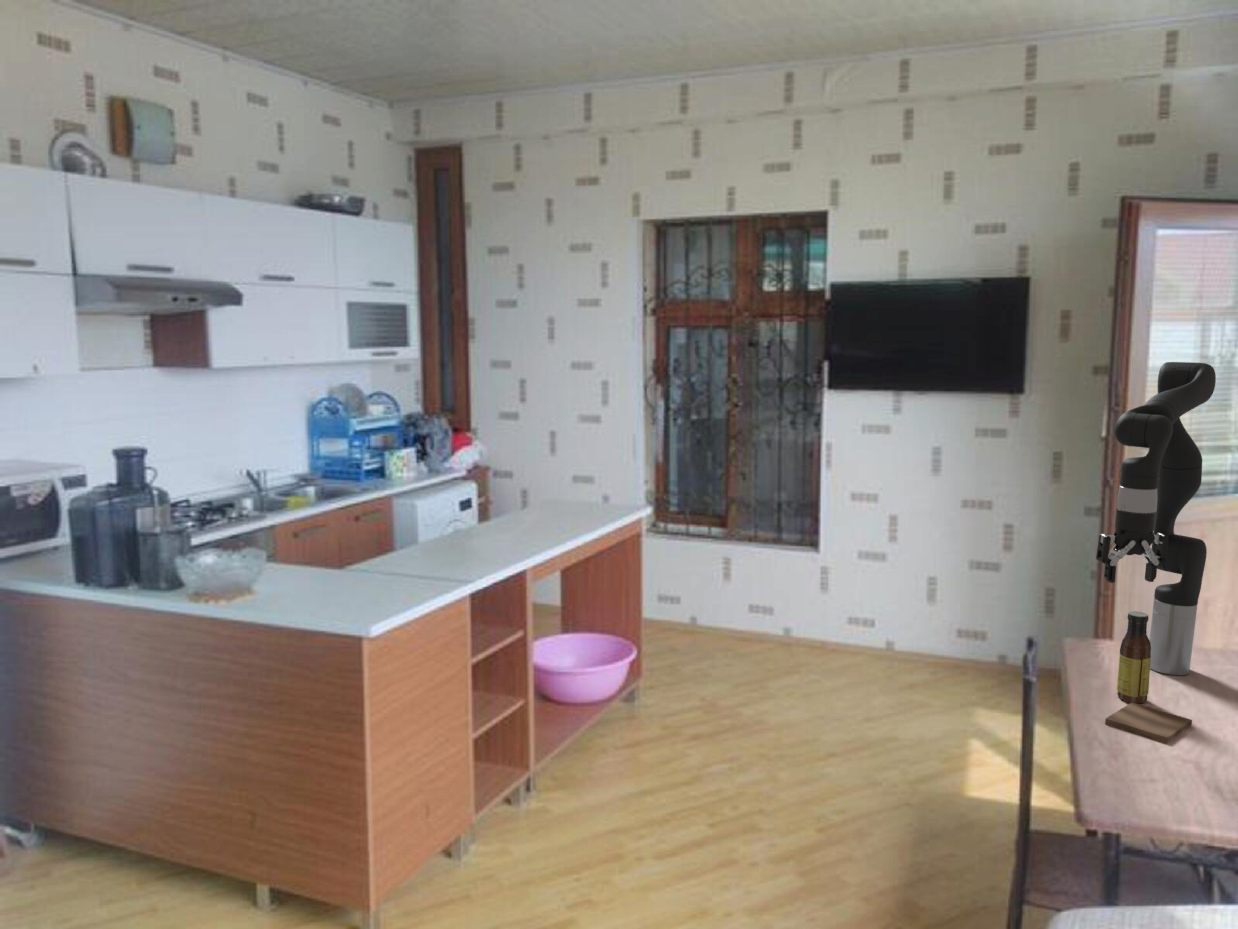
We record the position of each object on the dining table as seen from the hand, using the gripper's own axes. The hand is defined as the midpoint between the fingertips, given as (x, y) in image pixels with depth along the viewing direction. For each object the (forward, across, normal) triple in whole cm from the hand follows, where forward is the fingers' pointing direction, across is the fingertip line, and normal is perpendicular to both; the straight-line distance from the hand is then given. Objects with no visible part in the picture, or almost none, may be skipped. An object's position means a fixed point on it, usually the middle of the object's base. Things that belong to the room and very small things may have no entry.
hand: (1129, 581), depth 210 cm
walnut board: (+28, -1, +10) cm, 30 cm away
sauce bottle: (+29, -5, -4) cm, 30 cm away
